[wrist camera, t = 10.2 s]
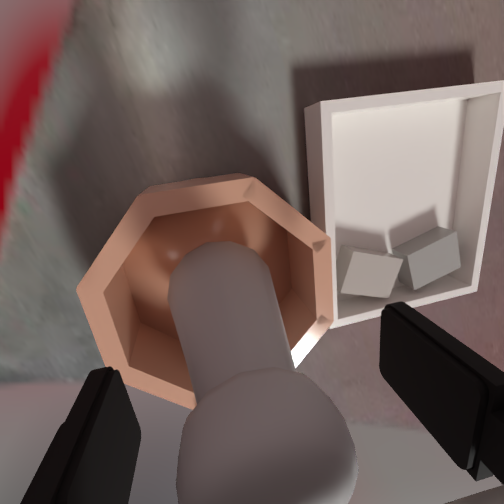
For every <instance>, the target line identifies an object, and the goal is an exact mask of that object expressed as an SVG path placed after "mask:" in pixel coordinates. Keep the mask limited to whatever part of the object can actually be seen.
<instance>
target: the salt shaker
mask: <svg viewBox="0 0 504 504" xmlns="http://www.w3.org/2000/svg"><path fill="white" fill-rule="evenodd" d="M167 300H168V303H169V306H170V310H171V313H172V316H173V320H174V323H175V326H176V330H177V333H178V336H179V340H180V343H181V346H182V350H183V353H184V356H185V360H186V364H187V367H188V371H189V375H190V379H191V383H192V387H193V391H194V395H195V399H196V402H197V406H196V407H195V408H194V409H193V411H192V412H191V413H190V414H189V415H188V417H187V419H186V422H185V424H184V427H183V431H182V437H181V444H180V450H179V456H178V467H177V478H176V489H177V496H178V503H179V504H348V503H349V501H350V498H351V496H352V493H353V491H354V487H355V483H356V479H357V475H358V471H359V469H358V463H357V457H356V451H355V446H354V443H353V440H352V437H351V435H350V432H349V430H348V427H347V425H346V422H345V420H344V417H343V416H342V414H341V413H340V412H339V410H338V409H337V407H336V406H335V404H334V403H333V402H332V400H331V399H330V398H329V397H328V396H327V395H326V394H325V393H324V392H323V391H322V390H321V389H320V388H319V387H318V386H317V385H316V384H315V383H314V382H313V381H312V380H311V379H310V378H309V377H307V376H306V375H305V374H303V373H298V372H296V369H295V365H294V361H293V357H292V354H291V350H290V346H289V342H288V339H287V335H286V331H285V327H284V324H283V320H282V316H281V312H280V309H279V305H278V301H277V297H276V293H275V290H274V286H273V282H272V278H271V274H270V270H269V267H268V266H267V264H266V263H265V262H264V261H263V260H262V259H261V257H260V256H259V255H258V254H257V253H256V251H255V250H253V249H251V248H248V247H246V246H243V245H240V244H237V243H234V242H232V241H221V242H206V243H205V244H203V245H201V246H199V247H198V248H196V249H194V250H192V251H191V252H189V253H187V254H186V255H185V256H184V257H183V259H182V260H181V261H180V263H179V264H178V265H177V267H176V268H175V269H174V271H173V272H172V274H171V275H170V281H169V289H168V297H167Z"/></svg>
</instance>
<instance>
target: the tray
mask: <svg viewBox="0 0 504 504" xmlns="http://www.w3.org/2000/svg"><path fill="white" fill-rule="evenodd" d="M304 117H305V134H306V150H307V167H308V184H309V201H310V218H311V222H312V223H313V224H314V225H315V226H317V227H318V228H319V229H320V230H322V231H323V232H324V233H325V234H327V235H328V236H329V237H330V238H331V257H332V286H333V314H334V321H333V323H332V324H331V326H330V327H329V329H332V328H336V327H340V326H344V325H347V324H351V323H355V322H359V321H363V320H367V319H371V318H375V317H379V316H381V311H382V310H383V309H384V307H385V305H387V304H391V303H395V302H400V301H403V302H405V303H406V304H408V305H409V306H410V307H412V308H414V307H418V306H422V305H425V304H429V303H433V302H437V301H441V300H445V299H449V298H453V297H457V296H460V295H464V294H468V293H472V292H476V291H477V288H478V282H479V276H480V269H481V263H482V257H483V251H484V244H485V238H486V232H487V226H488V220H489V213H490V207H491V201H492V195H493V189H494V182H495V176H496V170H497V164H498V158H499V151H500V145H501V139H502V133H503V127H504V80H502V81H493V82H485V83H476V84H467V85H458V86H450V87H441V88H432V89H423V90H414V91H406V92H397V93H388V94H379V95H371V96H362V97H353V98H344V99H336V100H327V101H320V102H318V103H315V104H313V105H310V106H308V107H306V108H304ZM437 226H439V227H443V228H446V229H450V230H454V231H457V237H458V246H459V254H460V262H461V267H460V268H458V269H456V270H454V271H452V272H450V273H448V274H446V275H444V276H442V277H440V278H438V279H436V280H434V281H432V282H430V283H428V284H426V285H424V286H422V287H421V288H419V289H417V290H415V291H414V290H412V289H411V288H409V287H407V286H406V285H404V284H402V283H400V282H399V280H398V275H397V278H396V281H395V283H394V286H393V289H392V291H391V294H390V296H389V298H380V297H372V296H363V295H354V294H345V293H340V292H339V291H338V290H337V278H336V260H337V257H338V253H339V250H340V247H341V244H342V245H348V246H354V247H360V248H366V249H372V250H378V251H384V252H389V253H391V254H393V253H392V248H394V247H396V246H399V245H401V244H403V243H405V242H407V241H409V240H411V239H413V238H415V237H417V236H419V235H421V234H423V233H425V232H427V231H429V230H431V229H433V228H435V227H437Z"/></svg>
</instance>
